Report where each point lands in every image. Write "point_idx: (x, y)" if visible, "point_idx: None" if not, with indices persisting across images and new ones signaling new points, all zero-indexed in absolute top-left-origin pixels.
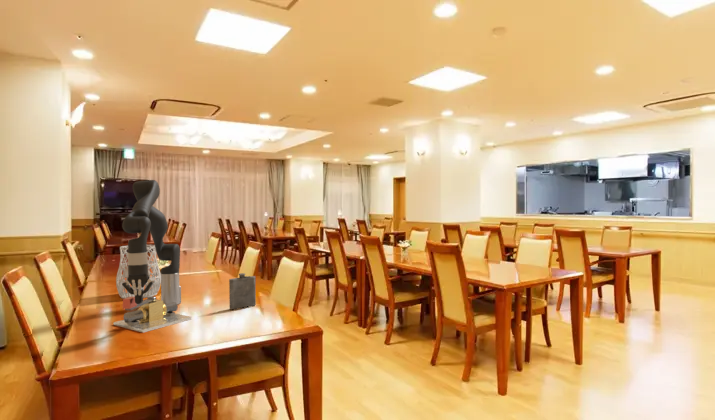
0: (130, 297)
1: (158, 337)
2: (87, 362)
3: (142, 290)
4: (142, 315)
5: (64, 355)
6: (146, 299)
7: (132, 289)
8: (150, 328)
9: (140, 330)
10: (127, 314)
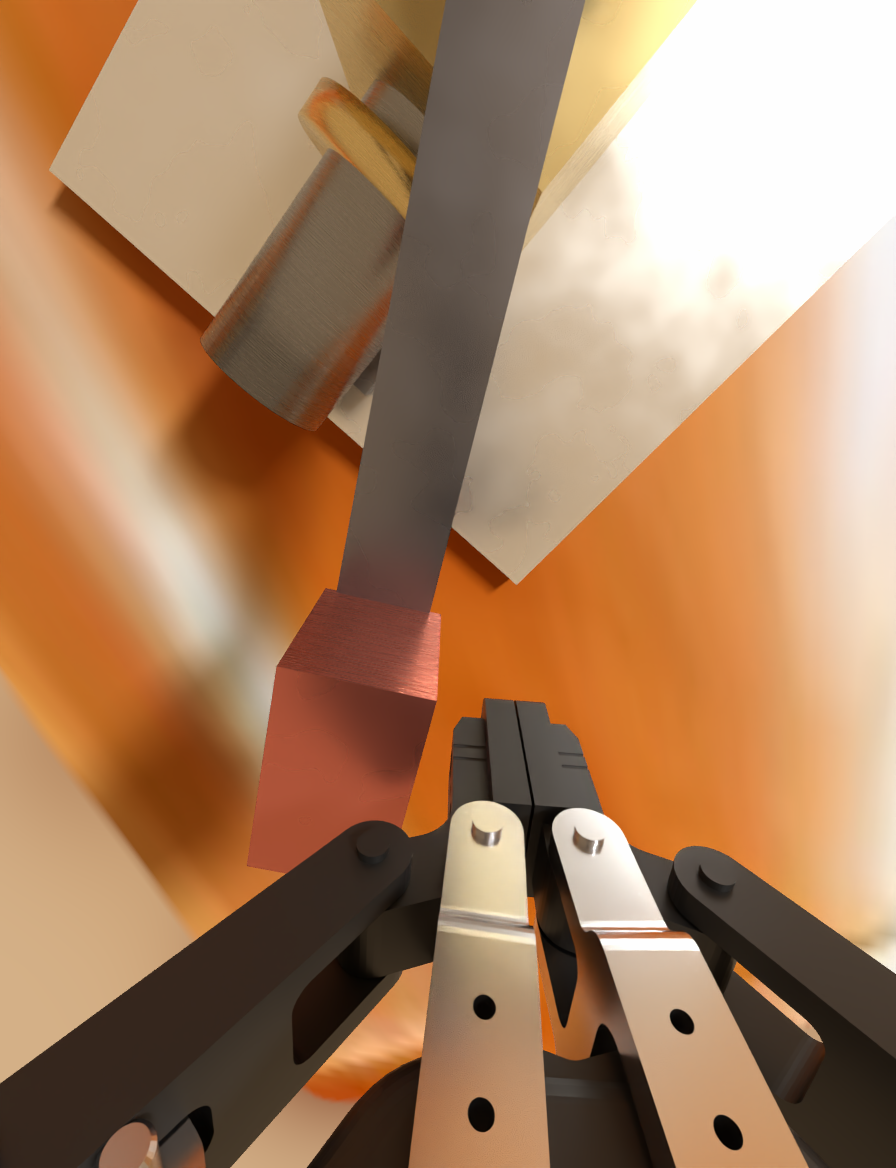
0: (334, 763)
1: (665, 726)
2: (374, 1024)
3: (628, 916)
4: None
5: (186, 927)
6: (465, 9)
7: (346, 938)
8: (570, 529)
9: (485, 555)
10: (267, 403)
